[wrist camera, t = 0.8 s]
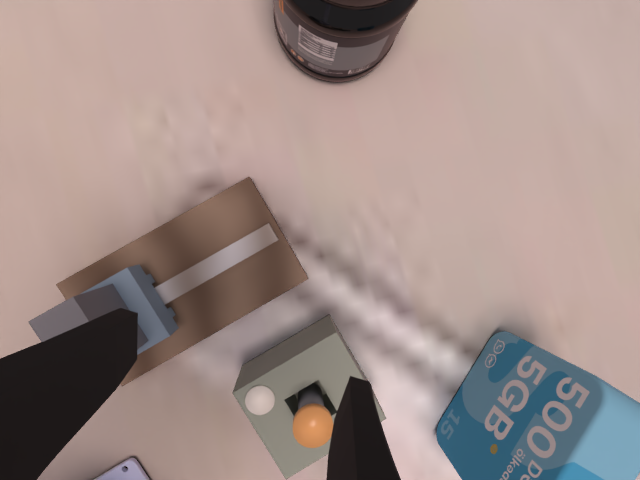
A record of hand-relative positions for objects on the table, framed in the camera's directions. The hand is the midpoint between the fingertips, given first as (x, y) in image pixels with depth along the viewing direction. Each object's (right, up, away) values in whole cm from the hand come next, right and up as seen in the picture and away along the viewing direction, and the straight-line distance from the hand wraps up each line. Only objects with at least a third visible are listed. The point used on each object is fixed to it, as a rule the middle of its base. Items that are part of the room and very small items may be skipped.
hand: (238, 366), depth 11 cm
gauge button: (+2, -8, +17) cm, 19 cm away
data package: (+18, -10, +21) cm, 30 cm away
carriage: (-13, -2, +17) cm, 21 cm away
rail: (-9, +1, +19) cm, 21 cm away
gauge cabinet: (+2, -8, +20) cm, 22 cm away
